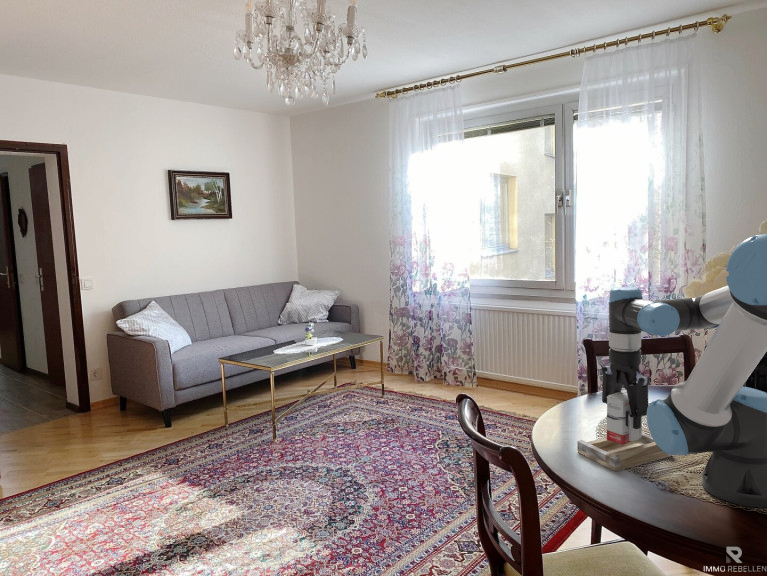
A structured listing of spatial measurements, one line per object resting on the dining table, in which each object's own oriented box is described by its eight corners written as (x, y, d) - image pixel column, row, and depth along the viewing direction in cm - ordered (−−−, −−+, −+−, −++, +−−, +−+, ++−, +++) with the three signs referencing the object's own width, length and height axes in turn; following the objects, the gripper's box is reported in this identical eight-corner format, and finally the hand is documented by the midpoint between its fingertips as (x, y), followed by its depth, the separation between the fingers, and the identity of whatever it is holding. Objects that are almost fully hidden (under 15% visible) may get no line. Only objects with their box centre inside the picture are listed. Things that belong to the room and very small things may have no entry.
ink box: (623, 445, 138) (623, 400, 137) (605, 440, 143) (605, 395, 141) (643, 437, 143) (643, 393, 142) (625, 432, 147) (625, 389, 146)
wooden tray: (672, 455, 141) (672, 444, 140) (615, 471, 134) (615, 459, 133) (631, 438, 153) (631, 427, 152) (577, 451, 146) (577, 440, 145)
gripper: (666, 353, 133) (665, 445, 136) (608, 339, 150) (608, 421, 153) (643, 357, 130) (642, 451, 133) (586, 343, 147) (586, 426, 150)
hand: (624, 435), depth 143 cm, fingers closed on ink box, 6 cm apart
